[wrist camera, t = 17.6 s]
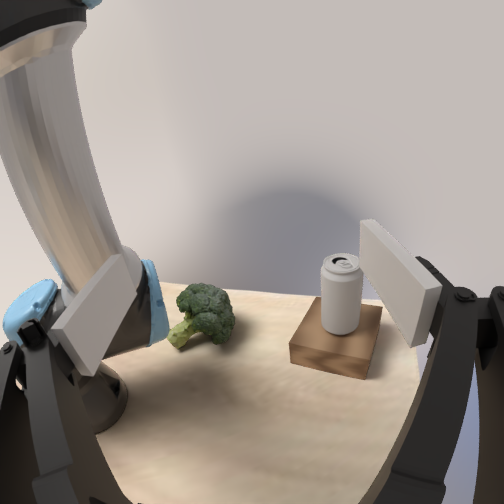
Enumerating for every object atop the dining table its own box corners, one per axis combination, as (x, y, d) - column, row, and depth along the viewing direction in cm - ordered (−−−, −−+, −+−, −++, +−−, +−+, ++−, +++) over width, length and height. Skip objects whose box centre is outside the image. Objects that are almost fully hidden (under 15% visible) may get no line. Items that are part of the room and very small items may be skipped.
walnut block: (290, 362, 44) (288, 342, 42) (316, 316, 54) (316, 296, 51) (364, 379, 37) (369, 359, 35) (379, 327, 47) (382, 306, 45)
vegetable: (162, 316, 57) (213, 272, 58) (200, 361, 55) (252, 318, 56) (138, 319, 45) (199, 265, 46) (184, 376, 43) (249, 323, 44)
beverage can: (345, 308, 47) (347, 247, 42) (366, 328, 41) (372, 264, 36) (314, 320, 45) (312, 258, 40) (333, 343, 40) (335, 278, 35)
